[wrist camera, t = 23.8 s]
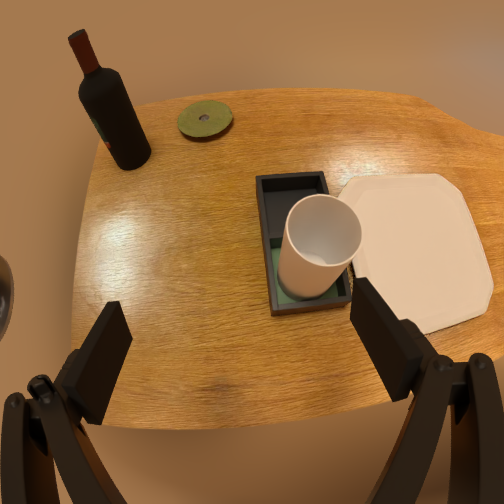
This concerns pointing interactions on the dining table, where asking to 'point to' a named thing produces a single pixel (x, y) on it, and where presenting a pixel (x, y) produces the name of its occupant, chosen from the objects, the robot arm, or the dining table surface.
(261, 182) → the holder
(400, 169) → the dining table surface
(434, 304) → the plate
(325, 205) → the cup
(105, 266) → the dining table surface
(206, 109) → the mat
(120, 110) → the wine bottle
